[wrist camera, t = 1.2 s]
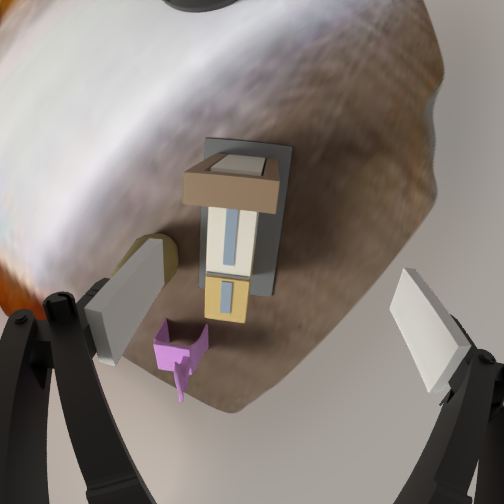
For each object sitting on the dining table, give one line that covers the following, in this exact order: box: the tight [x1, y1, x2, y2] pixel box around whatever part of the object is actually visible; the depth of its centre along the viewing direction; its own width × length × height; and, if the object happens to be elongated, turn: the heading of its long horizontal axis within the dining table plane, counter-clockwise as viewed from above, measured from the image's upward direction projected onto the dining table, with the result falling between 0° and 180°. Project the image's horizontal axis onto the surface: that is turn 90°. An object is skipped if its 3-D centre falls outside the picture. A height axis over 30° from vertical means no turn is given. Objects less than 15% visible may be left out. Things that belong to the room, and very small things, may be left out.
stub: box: [205, 243, 256, 323], centre depth 40 cm, size 6×5×12 cm
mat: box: [199, 138, 293, 297], centre depth 44 cm, size 24×12×1 cm, turn 174°
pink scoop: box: [153, 318, 209, 403], centre depth 47 cm, size 8×9×15 cm
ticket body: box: [183, 153, 280, 280], centre depth 35 cm, size 12×8×16 cm
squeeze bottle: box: [112, 233, 178, 290], centre depth 39 cm, size 8×8×18 cm
